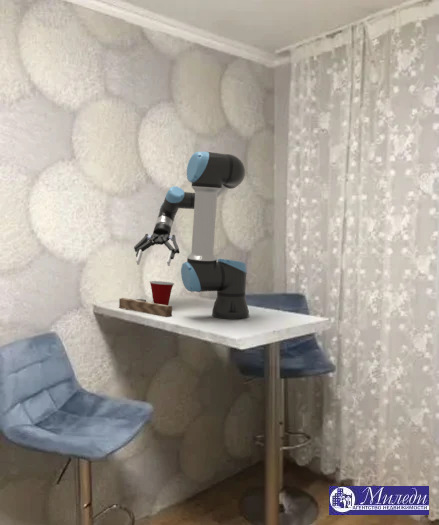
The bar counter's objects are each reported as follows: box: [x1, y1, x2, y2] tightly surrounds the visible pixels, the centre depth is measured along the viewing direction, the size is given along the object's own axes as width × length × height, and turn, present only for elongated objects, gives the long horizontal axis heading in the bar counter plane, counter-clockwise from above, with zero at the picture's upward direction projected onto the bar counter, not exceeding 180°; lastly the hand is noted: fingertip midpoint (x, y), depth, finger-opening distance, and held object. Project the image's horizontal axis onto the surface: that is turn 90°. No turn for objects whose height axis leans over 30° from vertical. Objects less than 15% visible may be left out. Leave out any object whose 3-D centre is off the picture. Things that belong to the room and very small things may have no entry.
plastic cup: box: [149, 280, 175, 306], centre depth 207 cm, size 11×11×12 cm
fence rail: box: [118, 297, 173, 318], centre depth 202 cm, size 29×11×4 cm, turn 51°
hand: (152, 263), depth 203 cm, fingers open, 13 cm apart
